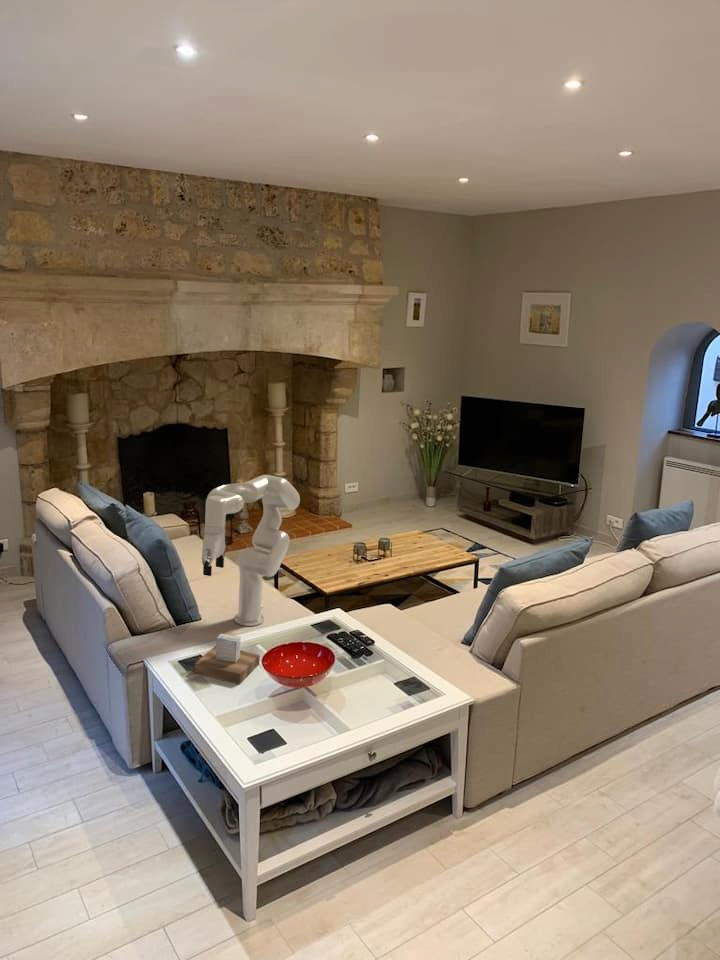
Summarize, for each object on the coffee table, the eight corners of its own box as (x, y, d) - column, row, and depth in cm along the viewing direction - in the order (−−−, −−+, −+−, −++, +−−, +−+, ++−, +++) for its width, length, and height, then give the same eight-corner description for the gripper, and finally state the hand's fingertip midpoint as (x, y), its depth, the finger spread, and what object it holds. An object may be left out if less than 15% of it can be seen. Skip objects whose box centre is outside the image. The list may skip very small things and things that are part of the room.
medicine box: (240, 657, 267) (241, 636, 265) (235, 663, 263) (236, 641, 261) (219, 654, 269) (220, 632, 267) (215, 659, 264) (216, 638, 262)
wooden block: (216, 654, 277) (216, 644, 276) (259, 664, 272) (259, 654, 271) (194, 673, 262) (195, 663, 261) (239, 684, 257) (240, 674, 256)
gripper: (217, 521, 283) (215, 562, 287) (194, 533, 267) (193, 576, 271) (234, 524, 281) (232, 565, 285) (212, 536, 265) (211, 580, 269)
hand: (213, 571), depth 278 cm, fingers open, 9 cm apart
